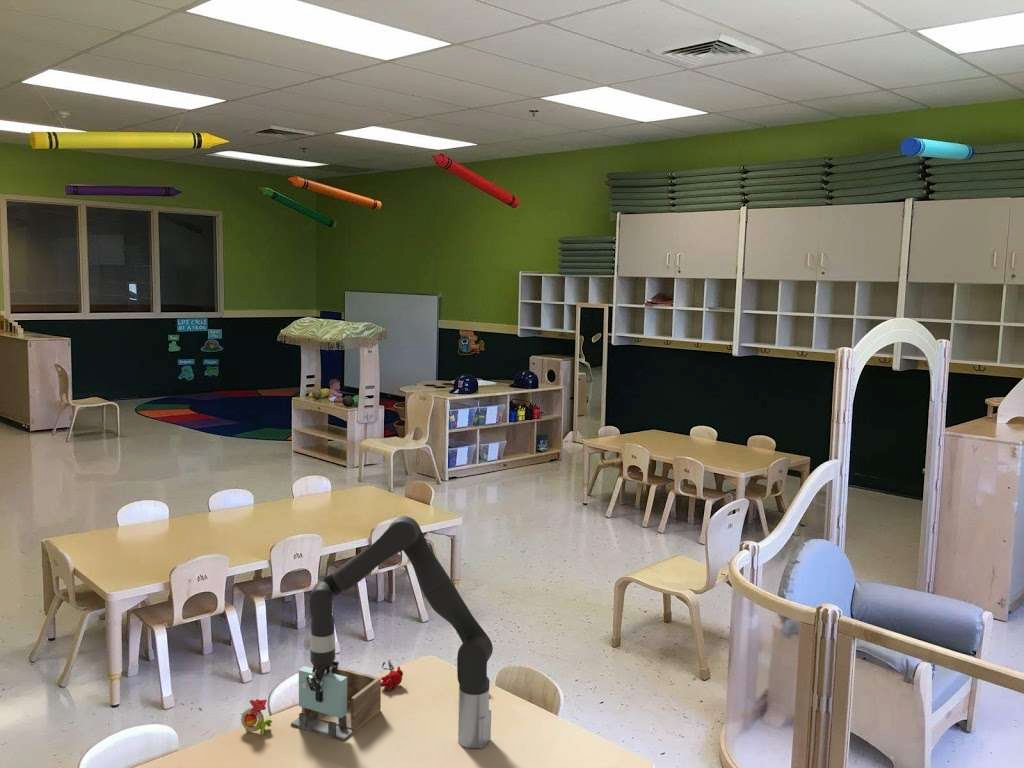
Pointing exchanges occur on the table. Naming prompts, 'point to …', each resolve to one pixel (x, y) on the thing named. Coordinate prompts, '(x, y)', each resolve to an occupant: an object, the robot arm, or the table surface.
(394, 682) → the figurine
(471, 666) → the robot arm
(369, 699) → the cabinet
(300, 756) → the table surface
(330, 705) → the door
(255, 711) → the bird rattle
